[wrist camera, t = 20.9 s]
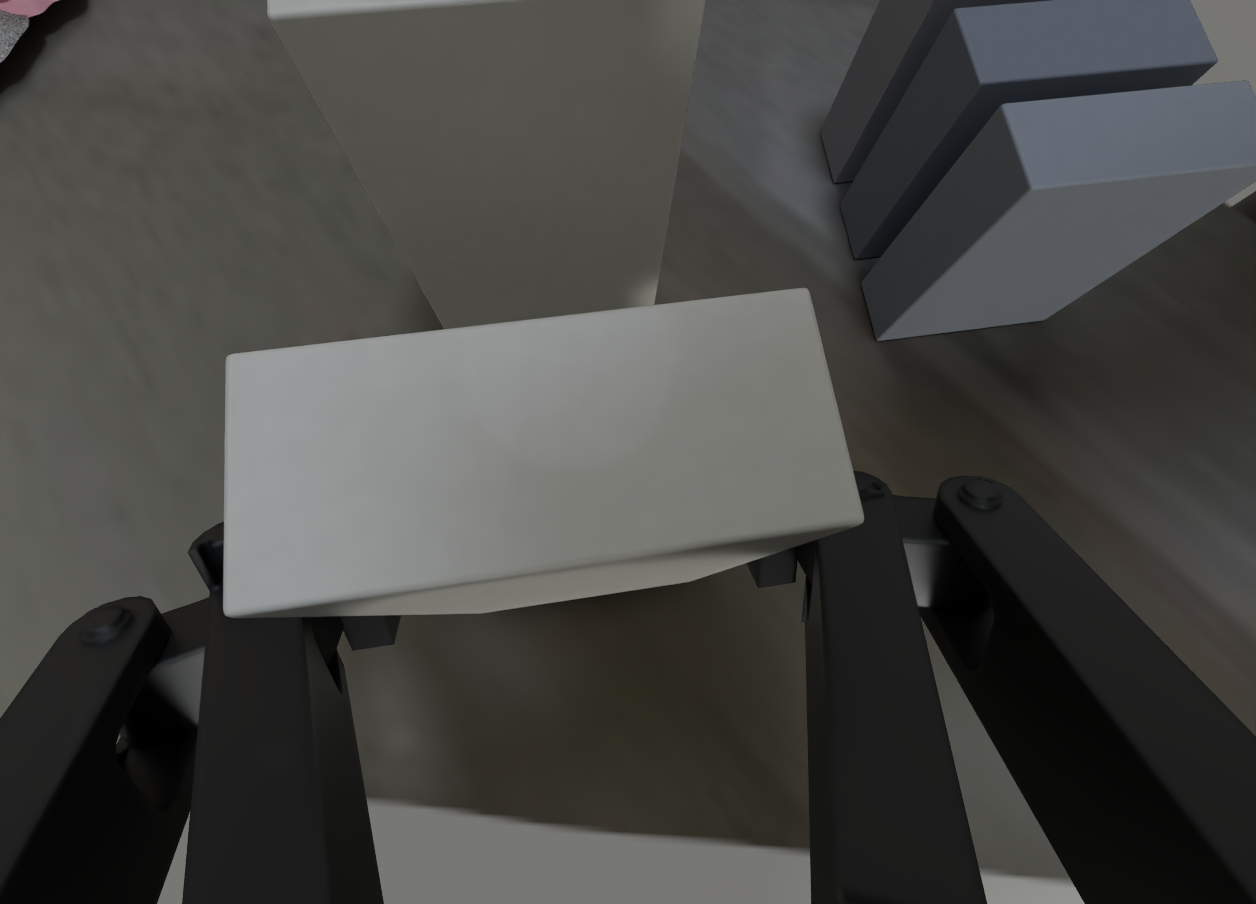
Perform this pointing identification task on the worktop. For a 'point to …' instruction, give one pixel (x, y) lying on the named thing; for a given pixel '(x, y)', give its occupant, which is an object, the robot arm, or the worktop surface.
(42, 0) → the candy landscape model
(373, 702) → the worktop surface
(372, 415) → the cream tall block
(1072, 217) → the grey books
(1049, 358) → the worktop surface
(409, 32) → the cream book row
